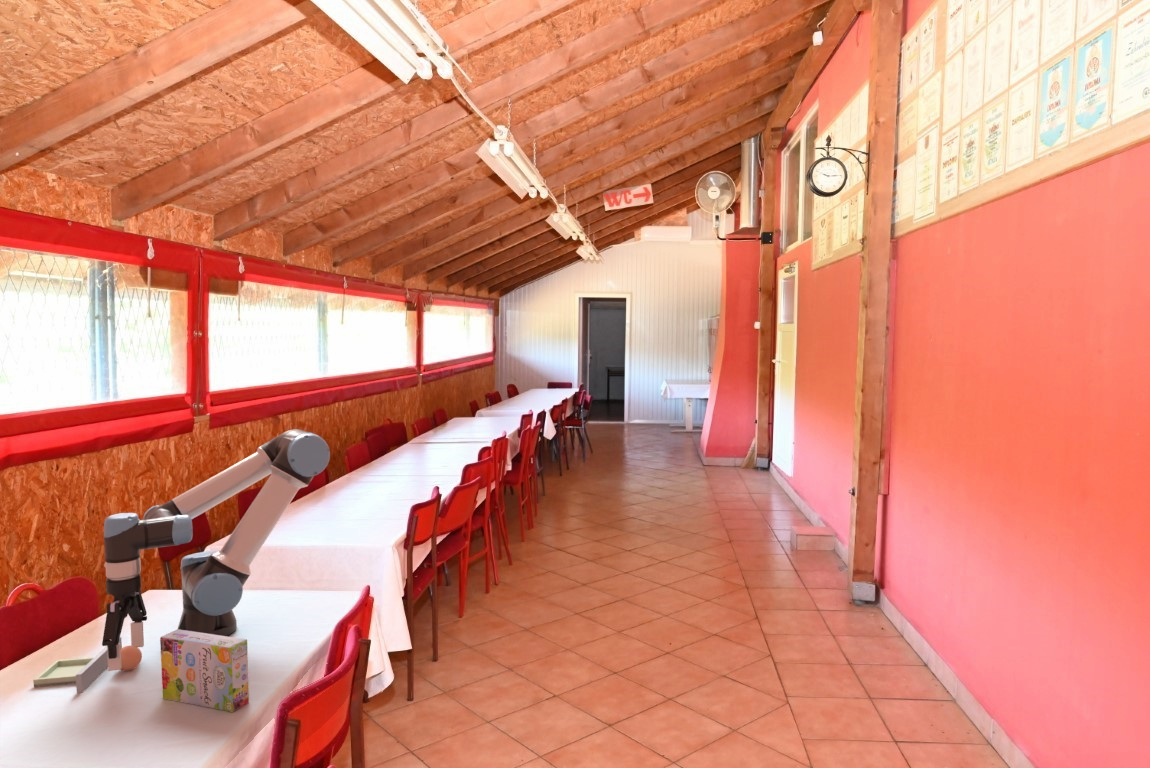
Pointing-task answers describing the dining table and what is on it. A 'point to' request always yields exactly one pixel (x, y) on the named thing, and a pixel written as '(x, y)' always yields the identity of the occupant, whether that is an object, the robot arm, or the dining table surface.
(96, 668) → the divider wall
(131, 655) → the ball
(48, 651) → the dining table surface
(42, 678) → the tray
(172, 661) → the snack box
